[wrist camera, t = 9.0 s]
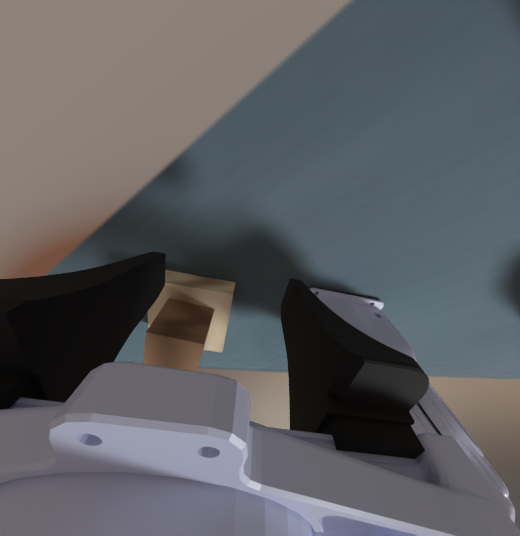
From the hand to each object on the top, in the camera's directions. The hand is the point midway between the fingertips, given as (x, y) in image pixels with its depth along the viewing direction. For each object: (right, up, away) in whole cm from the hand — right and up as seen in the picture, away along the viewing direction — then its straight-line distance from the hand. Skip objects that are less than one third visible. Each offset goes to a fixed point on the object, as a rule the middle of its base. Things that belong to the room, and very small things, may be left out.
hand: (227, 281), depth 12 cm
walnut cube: (-6, -5, +12) cm, 14 cm away
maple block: (-6, -4, +14) cm, 16 cm away
